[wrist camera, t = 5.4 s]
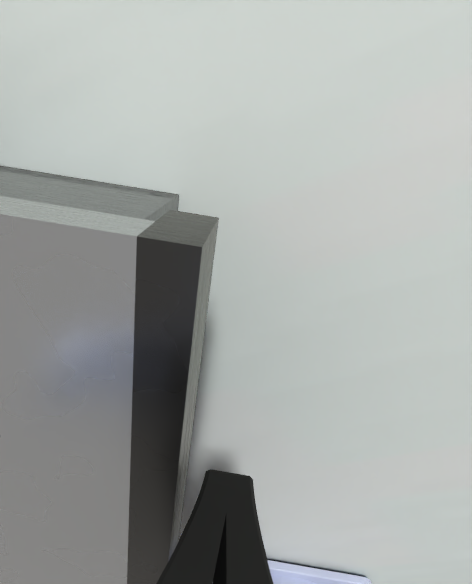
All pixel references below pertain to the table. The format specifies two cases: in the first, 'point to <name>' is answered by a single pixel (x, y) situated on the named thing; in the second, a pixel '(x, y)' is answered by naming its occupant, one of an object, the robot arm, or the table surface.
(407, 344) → the table surface
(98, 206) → the dark grey box
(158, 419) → the cooker lid
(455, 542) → the table surface
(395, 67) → the table surface
